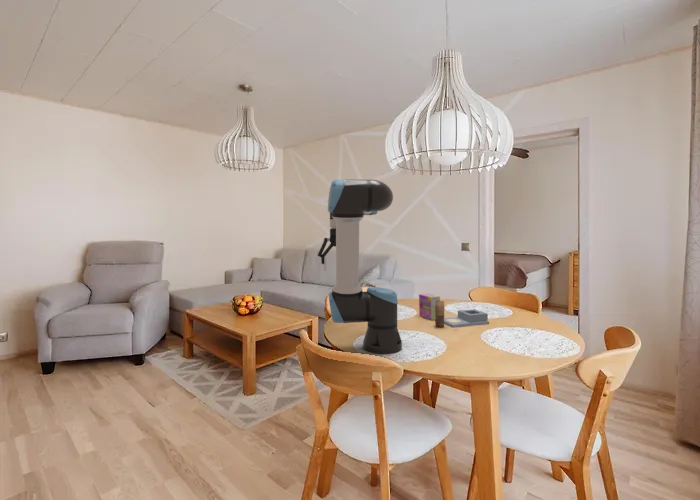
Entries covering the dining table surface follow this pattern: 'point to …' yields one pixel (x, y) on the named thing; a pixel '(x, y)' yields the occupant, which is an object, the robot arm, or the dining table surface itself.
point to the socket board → (467, 318)
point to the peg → (439, 314)
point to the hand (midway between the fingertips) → (337, 270)
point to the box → (427, 305)
